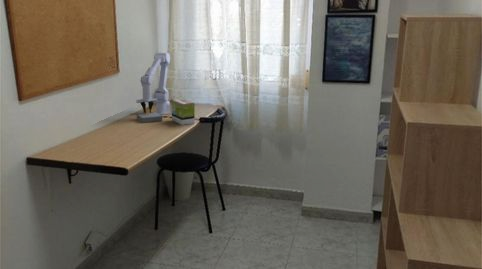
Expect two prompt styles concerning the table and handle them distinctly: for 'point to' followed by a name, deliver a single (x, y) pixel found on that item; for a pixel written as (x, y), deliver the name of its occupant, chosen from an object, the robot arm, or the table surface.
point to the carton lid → (149, 114)
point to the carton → (149, 119)
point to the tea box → (183, 111)
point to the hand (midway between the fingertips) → (147, 112)
